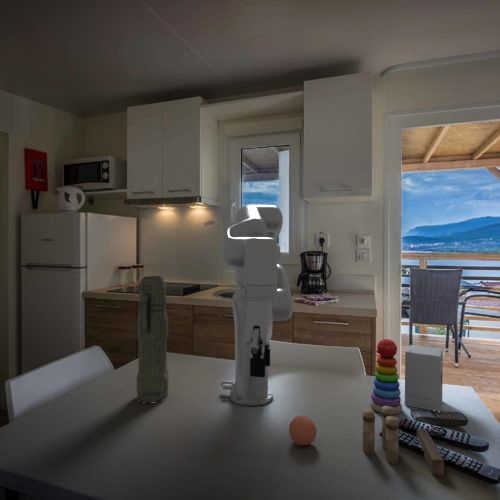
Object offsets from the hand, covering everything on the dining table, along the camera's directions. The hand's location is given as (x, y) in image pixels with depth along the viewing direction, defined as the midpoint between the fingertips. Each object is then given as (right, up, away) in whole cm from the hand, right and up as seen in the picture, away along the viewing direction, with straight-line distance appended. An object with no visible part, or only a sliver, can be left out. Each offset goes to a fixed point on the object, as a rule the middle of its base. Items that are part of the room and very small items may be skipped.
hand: (260, 370), depth 82 cm
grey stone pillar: (-31, -16, +23) cm, 41 cm away
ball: (+9, -13, -2) cm, 16 cm away
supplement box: (+46, -16, +19) cm, 53 cm away
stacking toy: (+34, -16, +16) cm, 41 cm away
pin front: (+23, -16, -5) cm, 28 cm away
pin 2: (+27, -16, -8) cm, 32 cm away
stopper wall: (+35, -16, -7) cm, 39 cm away
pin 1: (+28, -16, -3) cm, 32 cm away
